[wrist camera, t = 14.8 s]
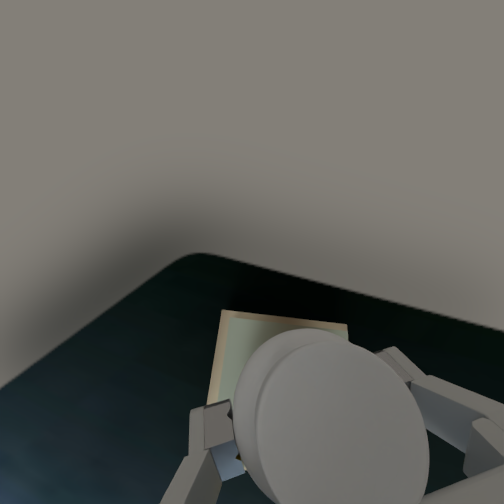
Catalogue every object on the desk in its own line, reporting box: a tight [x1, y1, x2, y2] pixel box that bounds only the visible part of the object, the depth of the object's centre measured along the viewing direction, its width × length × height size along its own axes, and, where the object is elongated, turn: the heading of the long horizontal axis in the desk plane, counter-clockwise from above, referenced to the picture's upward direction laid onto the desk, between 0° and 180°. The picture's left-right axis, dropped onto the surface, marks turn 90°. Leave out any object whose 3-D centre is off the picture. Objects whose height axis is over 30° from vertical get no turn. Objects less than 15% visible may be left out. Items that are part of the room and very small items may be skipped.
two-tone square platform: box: [207, 310, 348, 470], centre depth 19 cm, size 10×10×6 cm
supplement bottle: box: [233, 328, 429, 504], centre depth 10 cm, size 5×5×10 cm
